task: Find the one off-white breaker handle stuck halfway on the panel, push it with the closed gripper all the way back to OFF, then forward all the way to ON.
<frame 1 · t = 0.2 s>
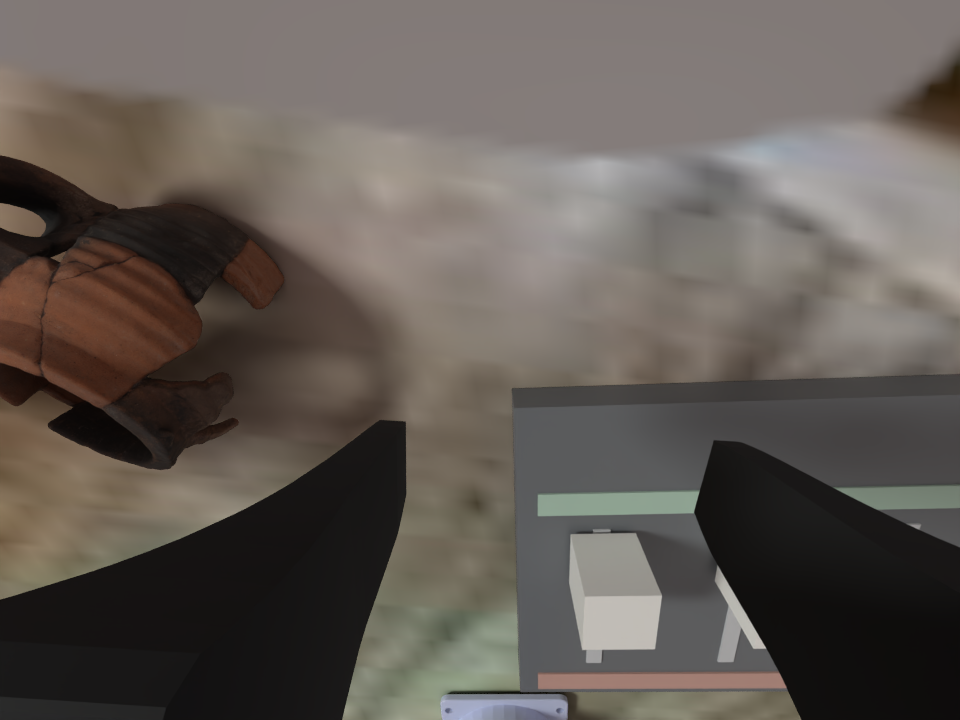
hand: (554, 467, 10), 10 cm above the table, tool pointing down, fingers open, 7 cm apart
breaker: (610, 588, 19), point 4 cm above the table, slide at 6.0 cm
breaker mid: (773, 586, 19), point 4 cm above the table, slide at 6.0 cm
panel: (724, 537, 23), on the table
pottery mug: (176, 293, 20), on the table
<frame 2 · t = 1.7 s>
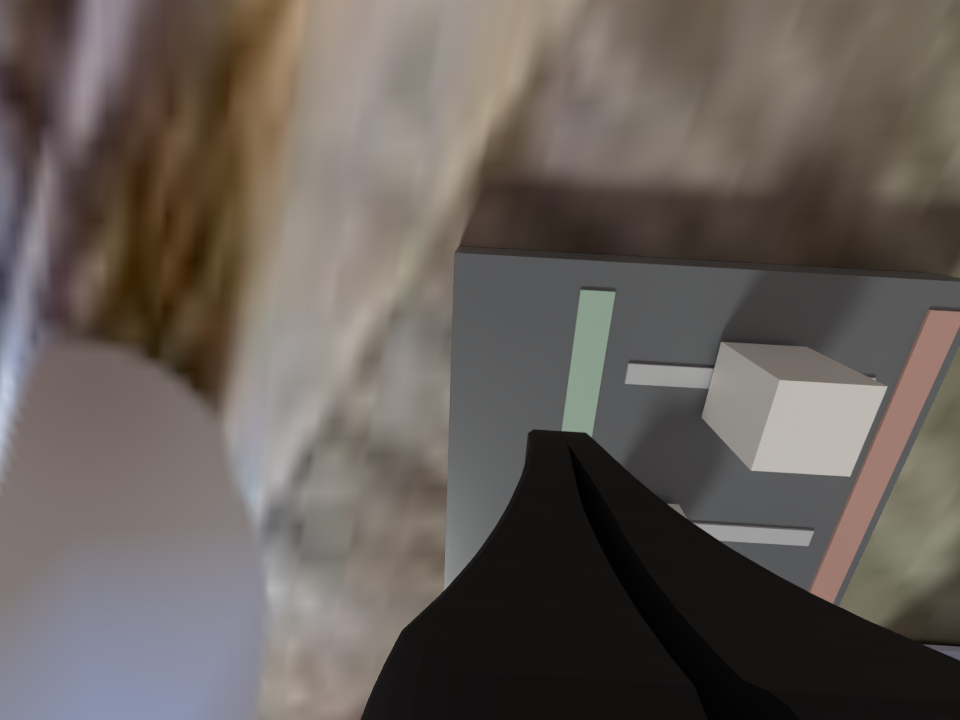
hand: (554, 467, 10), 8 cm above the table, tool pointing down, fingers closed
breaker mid: (648, 562, 17), point 4 cm above the table, slide at 6.0 cm
panel: (641, 497, 21), on the table
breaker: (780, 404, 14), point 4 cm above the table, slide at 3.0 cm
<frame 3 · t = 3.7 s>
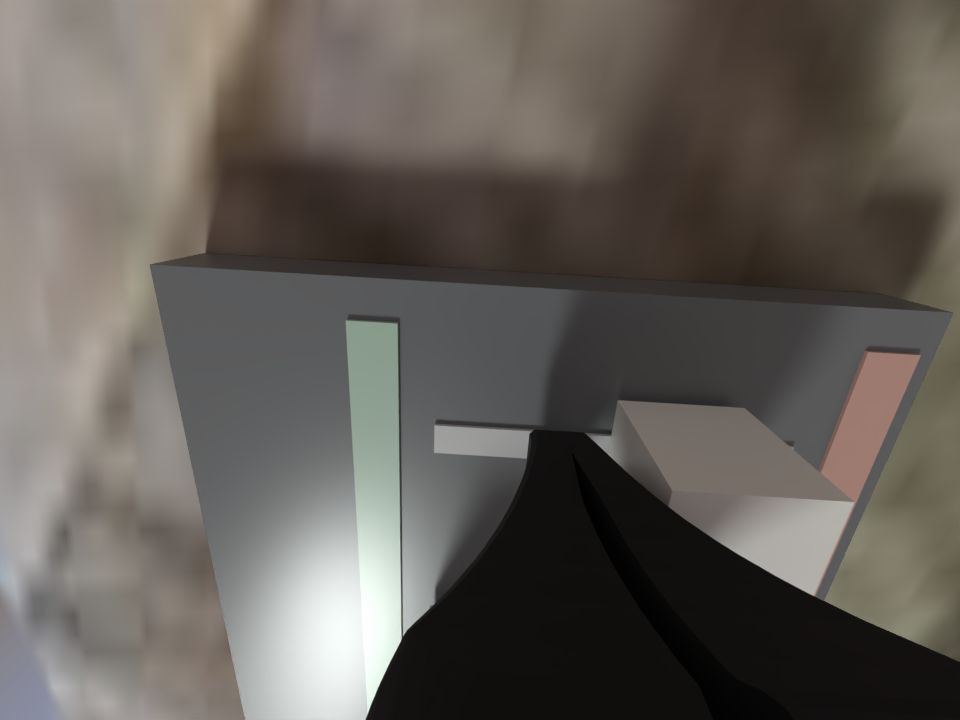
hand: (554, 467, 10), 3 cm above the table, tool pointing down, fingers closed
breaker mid: (476, 704, 12), point 4 cm above the table, slide at 6.0 cm
panel: (508, 584, 16), on the table
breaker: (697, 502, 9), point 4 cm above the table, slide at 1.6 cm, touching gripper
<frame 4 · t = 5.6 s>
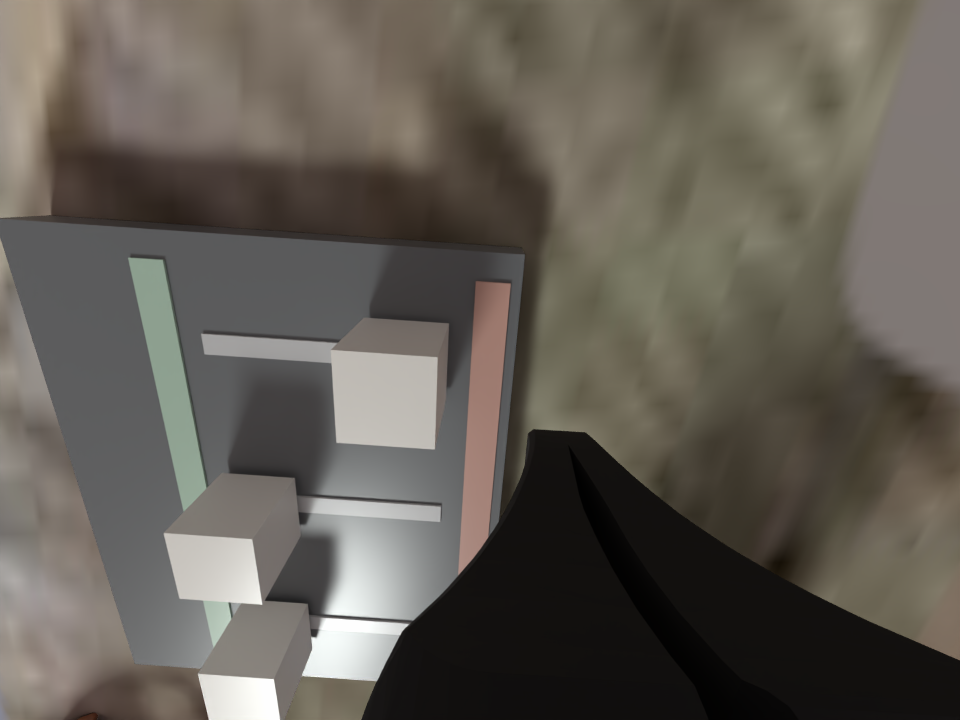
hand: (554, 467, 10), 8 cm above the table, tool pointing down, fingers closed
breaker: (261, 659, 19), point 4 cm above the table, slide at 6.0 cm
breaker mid: (240, 534, 17), point 4 cm above the table, slide at 6.0 cm
panel: (307, 474, 21), on the table
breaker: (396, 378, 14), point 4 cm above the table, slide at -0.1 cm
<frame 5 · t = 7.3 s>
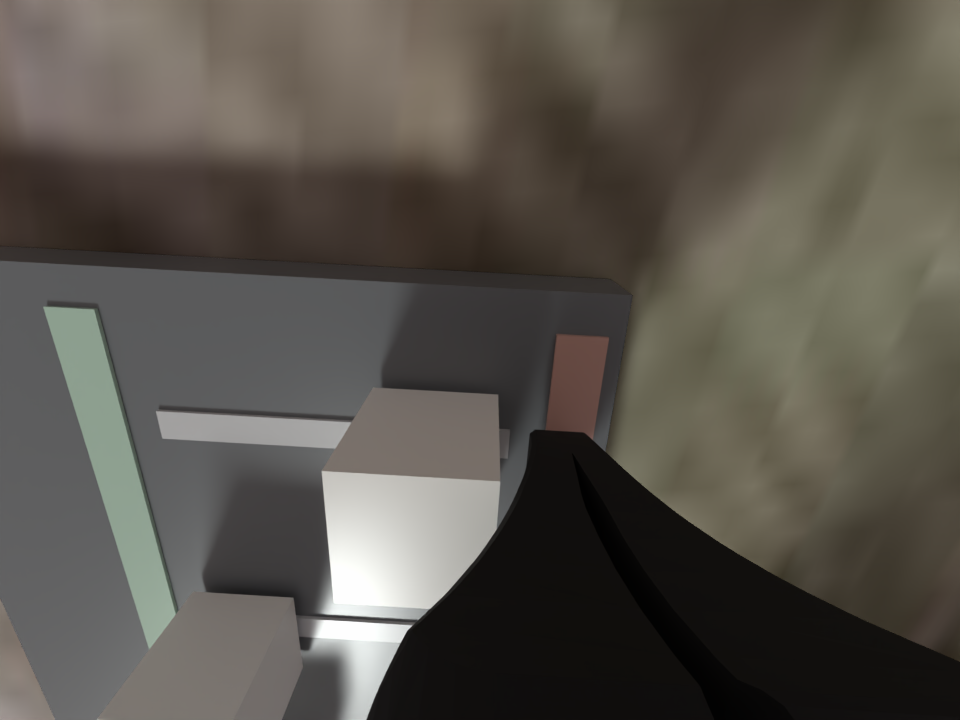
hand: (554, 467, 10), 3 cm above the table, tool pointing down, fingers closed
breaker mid: (217, 688, 12), point 4 cm above the table, slide at 6.0 cm
panel: (311, 572, 16), on the table
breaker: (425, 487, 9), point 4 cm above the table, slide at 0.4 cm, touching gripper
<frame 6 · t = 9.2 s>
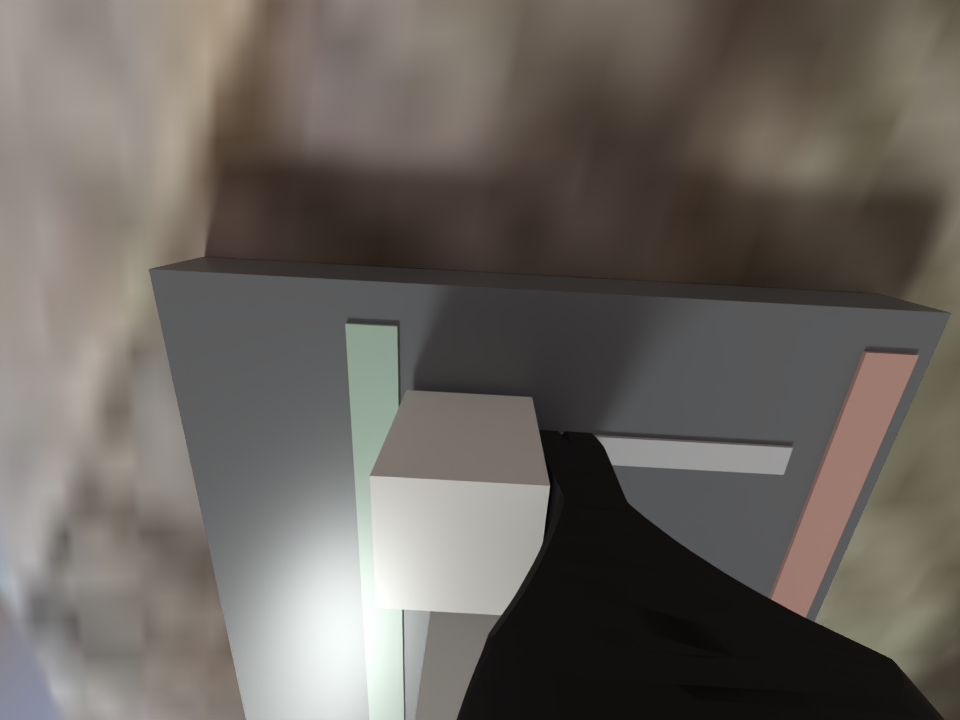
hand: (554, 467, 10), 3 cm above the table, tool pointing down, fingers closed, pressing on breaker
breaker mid: (477, 706, 12), point 4 cm above the table, slide at 6.0 cm
panel: (509, 585, 16), on the table
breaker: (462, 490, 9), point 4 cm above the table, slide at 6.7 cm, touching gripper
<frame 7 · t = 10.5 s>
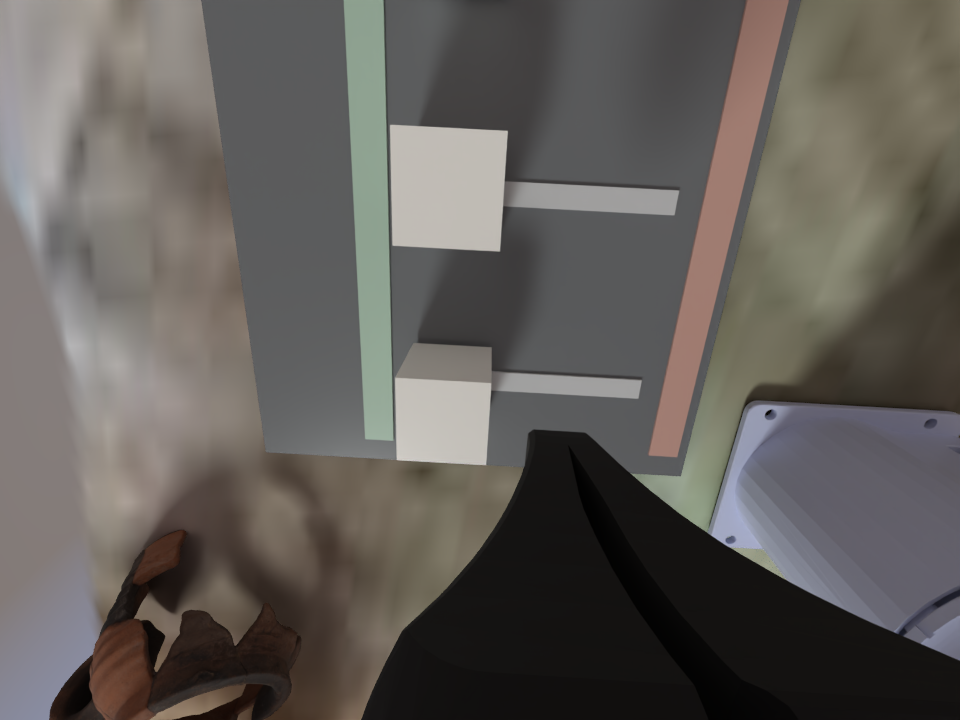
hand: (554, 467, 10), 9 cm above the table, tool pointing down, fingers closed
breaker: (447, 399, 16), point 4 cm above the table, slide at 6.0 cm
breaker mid: (452, 191, 13), point 4 cm above the table, slide at 6.0 cm
panel: (487, 192, 17), on the table
pottery mug: (213, 597, 26), on the table
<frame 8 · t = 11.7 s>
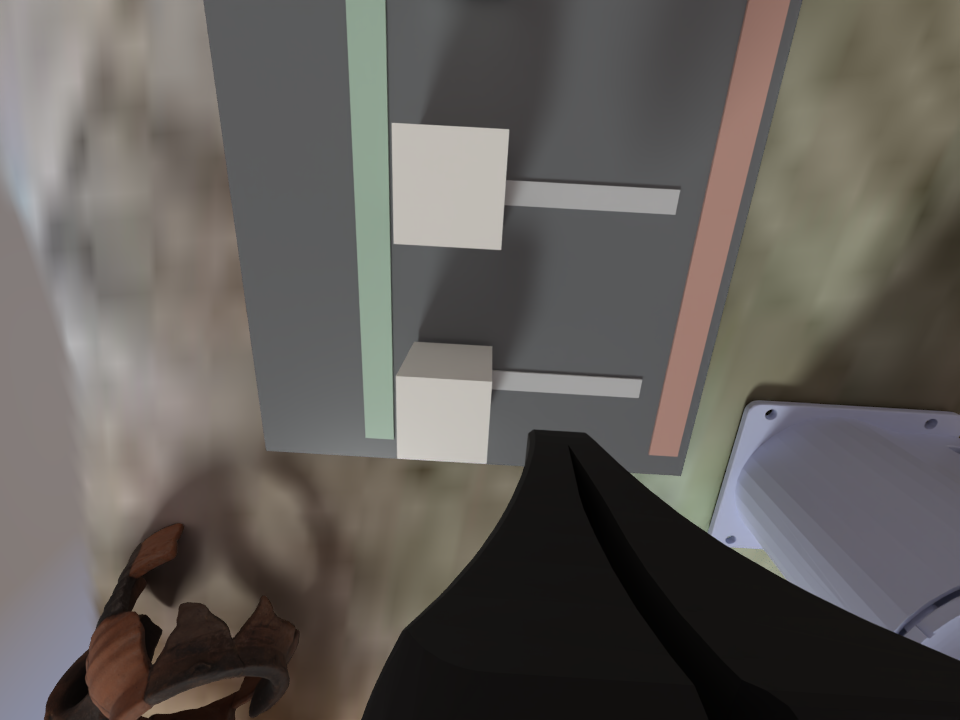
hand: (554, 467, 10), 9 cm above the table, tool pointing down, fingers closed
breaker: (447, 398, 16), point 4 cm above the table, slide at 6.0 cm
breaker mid: (454, 189, 13), point 4 cm above the table, slide at 6.0 cm
panel: (488, 191, 17), on the table
pottery mug: (211, 591, 25), on the table
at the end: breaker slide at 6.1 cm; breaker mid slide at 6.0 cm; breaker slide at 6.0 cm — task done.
